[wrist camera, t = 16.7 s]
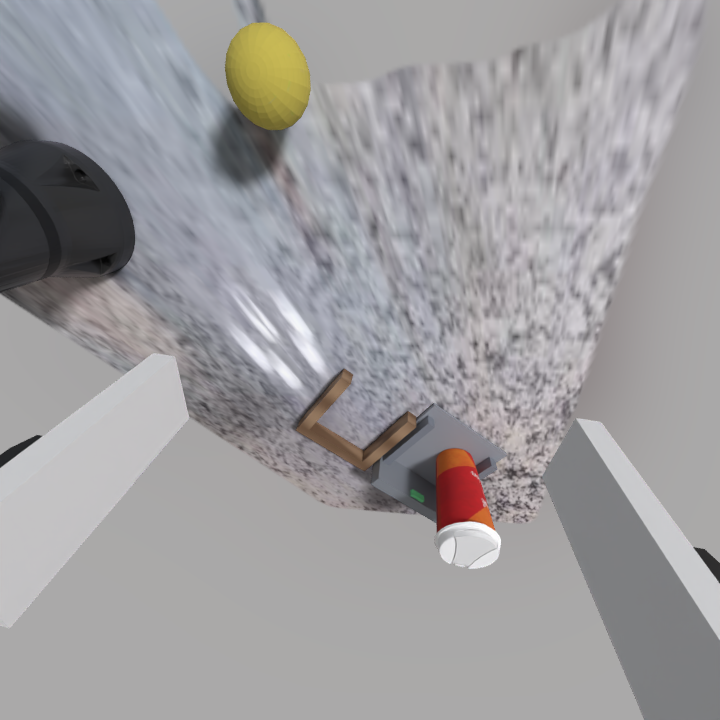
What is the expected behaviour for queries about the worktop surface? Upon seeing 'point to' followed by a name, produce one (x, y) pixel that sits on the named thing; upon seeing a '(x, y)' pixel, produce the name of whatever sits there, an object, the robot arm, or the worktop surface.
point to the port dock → (429, 459)
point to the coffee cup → (463, 513)
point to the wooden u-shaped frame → (340, 445)
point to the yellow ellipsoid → (267, 76)
